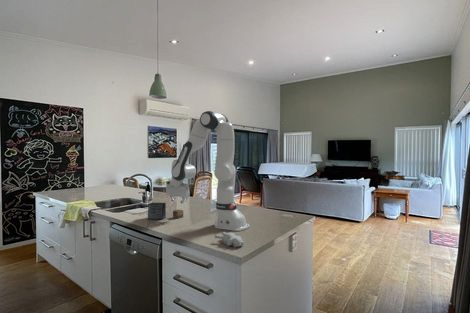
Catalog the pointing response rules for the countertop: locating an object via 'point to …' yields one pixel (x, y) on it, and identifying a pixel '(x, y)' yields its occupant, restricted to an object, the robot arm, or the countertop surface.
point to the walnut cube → (178, 214)
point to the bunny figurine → (230, 239)
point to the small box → (157, 211)
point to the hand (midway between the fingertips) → (177, 202)
